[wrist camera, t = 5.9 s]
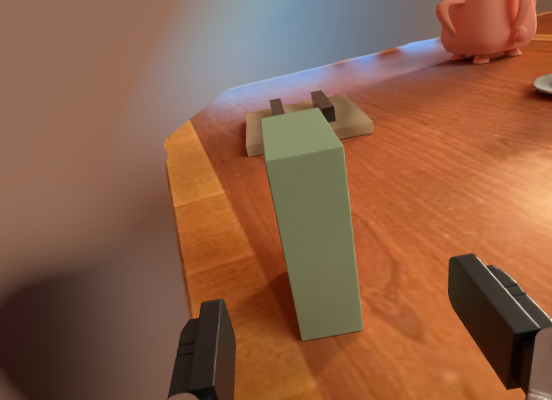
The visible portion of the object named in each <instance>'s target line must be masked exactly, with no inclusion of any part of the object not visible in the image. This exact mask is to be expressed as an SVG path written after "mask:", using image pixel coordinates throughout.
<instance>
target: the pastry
mask: <svg viewBox="0 0 552 400" xmlns="http://www.w3.org/2000/svg"><path fill="white" fill-rule="evenodd" d="M533 86H534V88H536V89H537V90H538V93H540V94H546V95H552V74H548V75H544V76H542V77H539V78H538V79H536V80H535V81H534V82H533Z"/></svg>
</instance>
